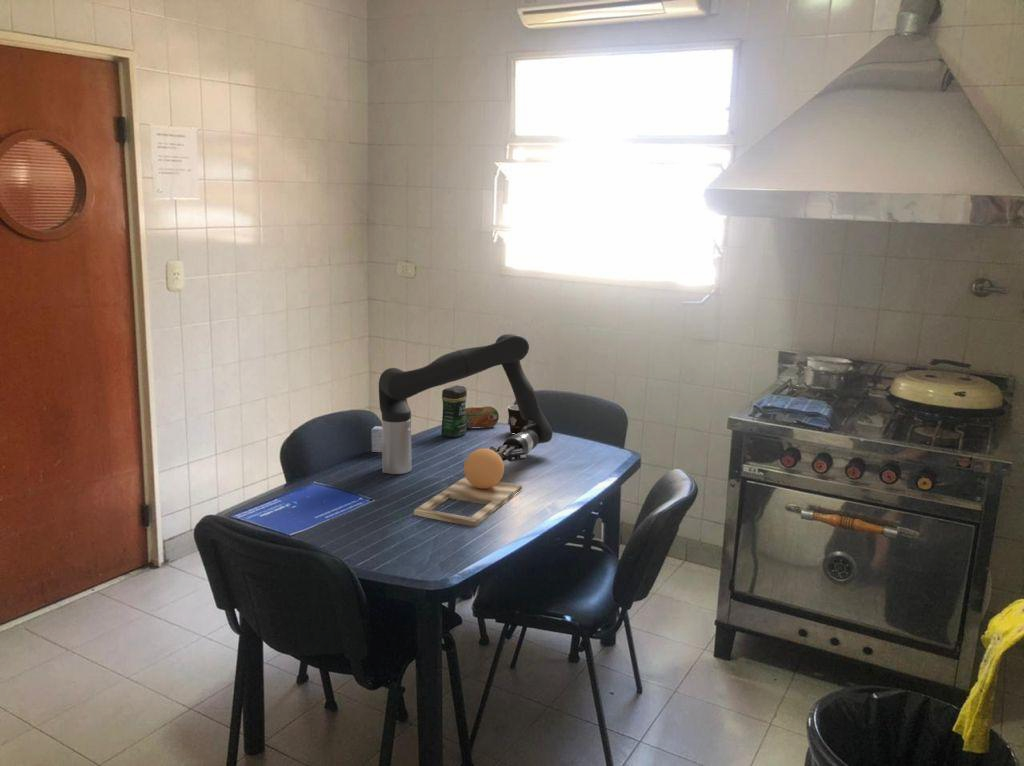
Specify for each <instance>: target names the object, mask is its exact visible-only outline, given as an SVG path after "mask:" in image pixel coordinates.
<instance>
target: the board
mask: <svg viewBox="0 0 1024 766" xmlns="http://www.w3.org/2000/svg"><path fill="white" fill-rule="evenodd" d="M521 489H522V490H523V485H522V484H516V483H511V482H503V481H499V482H498V483H497V484H496V485H495V486H493V487H491V488H487V489H481V488H477V487H475V486H473V485H472V484H471V483H470V482H469V481H468V480H467V478H466V476H464V477H462V478H461V479H460V480H457V481H456V482H455V483H453V484H452V485H450V486H448V487H447V488H445V489H444V490H442V491H441V492H439V493H438V494H436V495H435V496H433V497H432V498H430V499H428V500H427V501H426V502H424V503H422V504H420V505H419V506H418V507H416V508H415V509H413V515H414V516H416V515H417V516H418V517H423V518H427V519H428V518H429V519H431V520H432V519H433V520H438V521H444V522H449V523H454V524H459V525H464V526H469V527H477V526H478V525H480V523H482V522H483V521H485V520H486V519H487V518H488V517H490V516H491V515H492V514H494V513H495V512H496V511H497V510H498V509H500V508H501V507H502V506H503V504H504V503H505V502H506V501H507V502H509V501H510V500H511V499H512V498H514V497H515V496H516V495H517V494H518V493H517V492H519V491H520V490H521ZM522 490H521V491H522ZM521 491H520V492H521ZM520 492H519V493H520ZM516 493H517V494H516ZM515 494H516V495H515ZM514 495H515V496H514ZM513 496H514V497H513ZM511 497H512V498H511ZM510 498H511V499H510ZM448 499H453V500H458V501H464V502H468V501H469V502H470V503H475V504H479V505H484V507H482V508H481V509H480V510H479V511H476V512H475V513H474V514H473V515H472V516H470V517H469V516H465V515H460V514H454V513H447V512H443V511H438V510H434V509H435V508H437V507H439V506H440V505H441V504H443V503H444V502H446V501H447V500H448ZM509 499H510V500H509ZM508 500H509V501H508ZM507 502H506V503H507ZM506 503H505V504H506ZM485 504H487V505H485ZM505 504H504V505H505ZM501 505H502V506H501ZM500 506H501V507H500ZM499 507H500V508H499ZM497 508H498V509H497ZM496 509H497V510H496ZM495 510H496V511H495ZM494 511H495V512H494ZM491 513H492V514H491ZM490 514H491V515H490ZM489 515H490V516H489ZM484 519H485V520H484Z"/></svg>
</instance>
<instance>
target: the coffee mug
mask: <svg viewBox="0 0 1024 766" xmlns="http://www.w3.org/2000/svg"><path fill="white" fill-rule="evenodd" d="M507 413H508V423H509V431H510V432H511V433H515V434H518V433H520V432H521V430H522V428H523V427H524V426H527V425H531V424H536V423H535V422H534V421H533V422H532V423H530V424H529V422H530V420H525V419H523V418H522V417H521V414H520V411H519V408H518V404H512V405H511V404H510V405H509V406H507ZM511 433H510V434H511Z"/></svg>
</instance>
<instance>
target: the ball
mask: <svg viewBox="0 0 1024 766" xmlns="http://www.w3.org/2000/svg"><path fill="white" fill-rule="evenodd" d="M497 453H498V452H497ZM497 453H496V452H495V451H493V450H491V449H490V448H478V449H476V450H474V451H472V452H471V453H470V454H469V455H468V456H467V457H466V460H465V461H464V464H463V472H464V477H466V478H467V480H468V481H469V482H470V483H471V484H472V485H473V486H475V487H477V488H481V489H487V488H491V487H493V486H495V485H496V484H497V483H498V482H501V480H502V478H503V476H504V473H505V465H504V461H502V459H501V457H500V456H499V455H498V454H497Z"/></svg>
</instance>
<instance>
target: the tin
mask: <svg viewBox="0 0 1024 766" xmlns="http://www.w3.org/2000/svg"><path fill="white" fill-rule="evenodd" d="M499 417H500V415H499V412H498V410H497V409H496V408H495V407H492V406H491V405H490V406H489V405H485V406H484V405H482V406H481V405H480V406H468V407H466V429H467V428H472V427H490V426H493V427H495V426H496V425H497V424H498V421H499V419H500V418H499Z"/></svg>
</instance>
